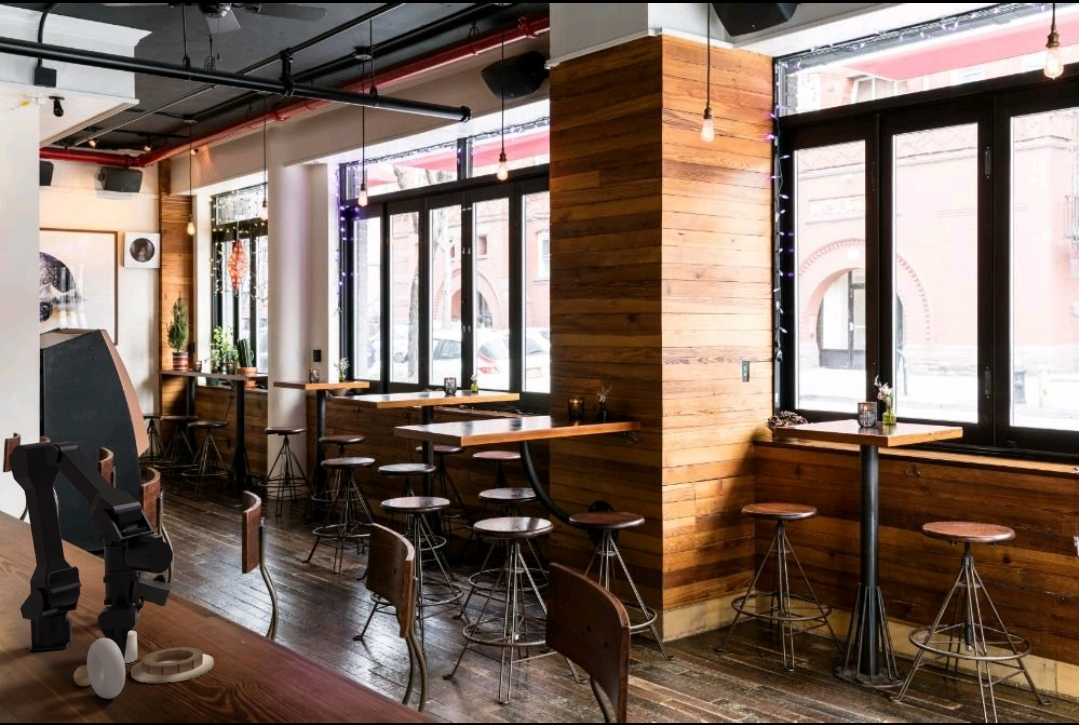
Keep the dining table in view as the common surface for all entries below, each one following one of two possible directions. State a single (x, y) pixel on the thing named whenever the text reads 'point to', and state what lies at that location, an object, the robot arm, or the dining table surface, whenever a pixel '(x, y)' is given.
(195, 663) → the tray
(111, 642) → the donut
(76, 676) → the bead small
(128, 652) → the white cylinder
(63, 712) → the dining table surface
